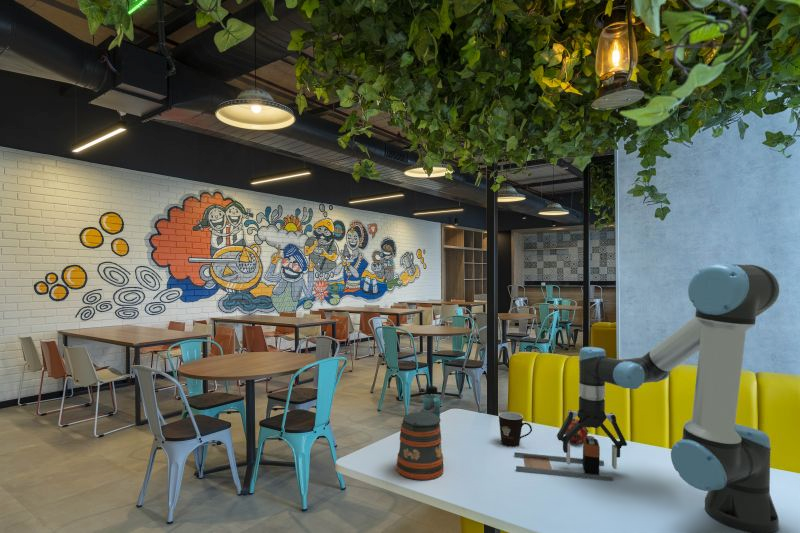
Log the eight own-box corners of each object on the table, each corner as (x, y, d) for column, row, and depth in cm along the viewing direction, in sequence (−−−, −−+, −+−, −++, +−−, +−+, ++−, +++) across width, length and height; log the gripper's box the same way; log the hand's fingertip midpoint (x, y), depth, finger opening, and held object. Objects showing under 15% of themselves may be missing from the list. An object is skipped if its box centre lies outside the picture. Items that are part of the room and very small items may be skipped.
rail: (612, 480, 135) (612, 476, 135) (516, 471, 141) (516, 467, 141) (603, 464, 147) (603, 460, 147) (514, 455, 153) (514, 452, 153)
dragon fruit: (576, 439, 173) (579, 456, 162) (558, 425, 174) (558, 440, 163) (591, 424, 171) (594, 439, 159) (572, 409, 172) (574, 424, 161)
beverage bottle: (419, 444, 161) (420, 388, 161) (424, 438, 167) (425, 383, 168) (437, 447, 159) (438, 390, 159) (441, 440, 165) (442, 385, 166)
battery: (597, 467, 145) (597, 436, 145) (599, 476, 138) (600, 443, 138) (582, 465, 146) (582, 434, 146) (584, 474, 140) (584, 441, 140)
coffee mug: (493, 440, 166) (493, 413, 166) (512, 437, 169) (512, 410, 170) (513, 452, 155) (514, 423, 155) (533, 449, 159) (534, 420, 159)
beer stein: (408, 452, 154) (409, 393, 154) (451, 458, 149) (452, 398, 150) (390, 476, 136) (391, 409, 136) (437, 484, 131) (438, 415, 132)
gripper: (631, 396, 144) (630, 464, 143) (548, 391, 148) (547, 456, 148) (638, 403, 136) (637, 474, 136) (551, 397, 141) (550, 465, 141)
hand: (590, 465), depth 142 cm, fingers open, 13 cm apart
